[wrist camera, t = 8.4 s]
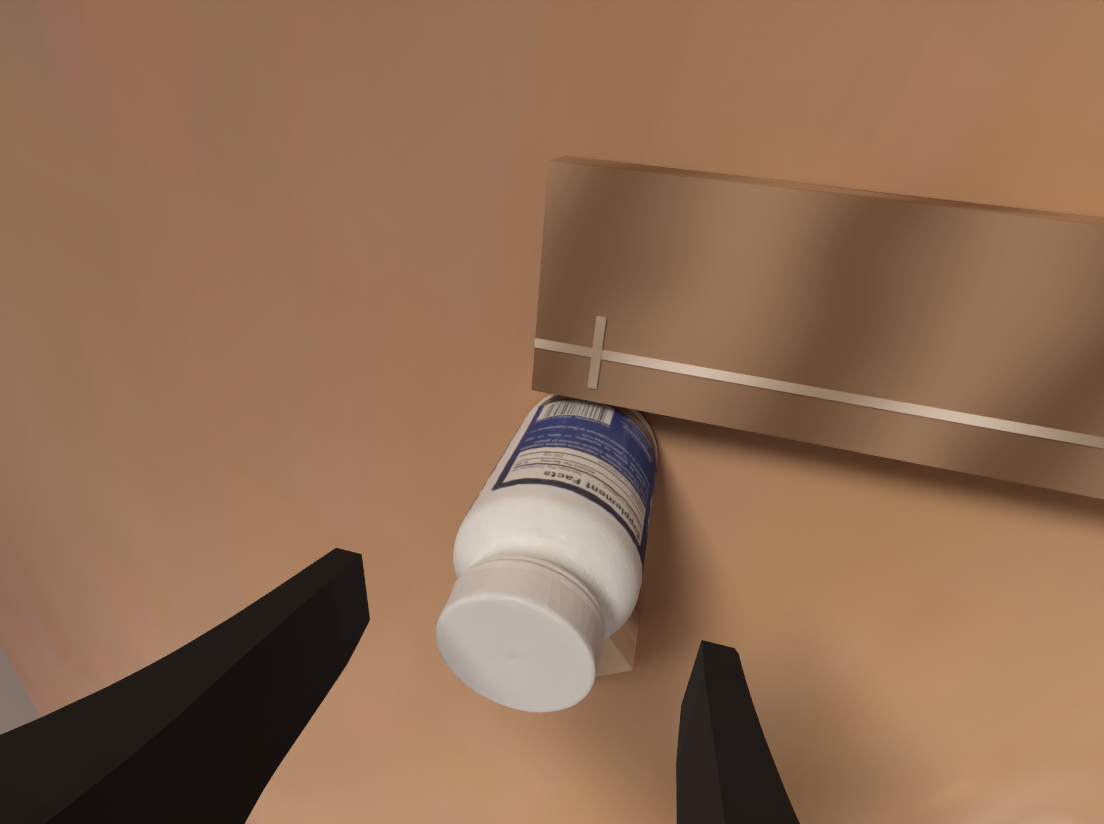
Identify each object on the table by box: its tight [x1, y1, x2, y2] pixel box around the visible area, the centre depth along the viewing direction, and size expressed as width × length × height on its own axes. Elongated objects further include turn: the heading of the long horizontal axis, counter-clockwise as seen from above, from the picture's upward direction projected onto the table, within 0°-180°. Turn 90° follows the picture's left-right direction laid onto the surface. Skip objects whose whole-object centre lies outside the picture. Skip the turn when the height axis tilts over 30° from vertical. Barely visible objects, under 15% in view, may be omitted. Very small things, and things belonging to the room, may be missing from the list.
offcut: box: [596, 608, 640, 677], centre depth 25 cm, size 6×3×3 cm, turn 122°
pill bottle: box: [436, 394, 658, 712], centre depth 17 cm, size 5×5×10 cm
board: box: [532, 156, 1104, 499], centre depth 16 cm, size 18×7×2 cm, turn 85°
